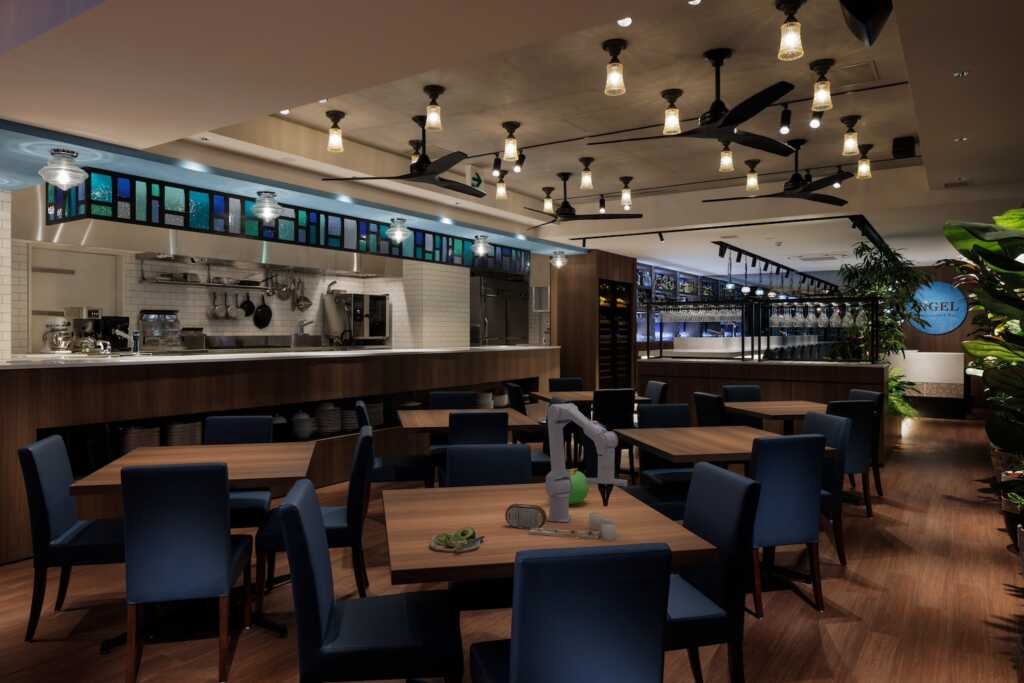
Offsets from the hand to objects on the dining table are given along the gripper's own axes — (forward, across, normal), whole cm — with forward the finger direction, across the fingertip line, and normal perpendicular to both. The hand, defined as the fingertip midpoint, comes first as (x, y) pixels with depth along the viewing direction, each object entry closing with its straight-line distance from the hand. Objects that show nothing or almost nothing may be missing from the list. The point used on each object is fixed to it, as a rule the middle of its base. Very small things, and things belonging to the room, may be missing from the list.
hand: (605, 505), depth 241 cm
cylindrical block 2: (+10, 0, +4) cm, 11 cm away
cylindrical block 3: (+10, +2, -4) cm, 11 cm away
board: (+10, -14, -3) cm, 18 cm away
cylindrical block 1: (+10, -4, +8) cm, 14 cm away
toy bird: (+11, -19, +44) cm, 49 cm away
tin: (+11, -29, +2) cm, 31 cm away
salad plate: (+11, -47, -23) cm, 53 cm away
